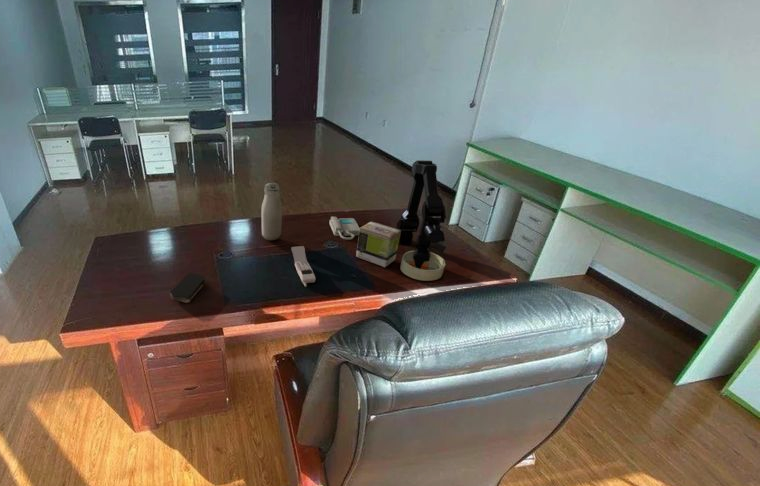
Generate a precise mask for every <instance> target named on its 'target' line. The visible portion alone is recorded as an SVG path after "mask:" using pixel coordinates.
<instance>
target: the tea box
mask: <svg viewBox="0 0 760 486" xmlns="http://www.w3.org/2000/svg"><path fill="white" fill-rule="evenodd" d="M359 228H360V231H359V235H358V239H357V246H356V252H355V253H356V255H355V257H356V258H359V259H361V260H364V261H367V262H369V263H372V264H375V265H376V266H380V267H382V268H386V267H388V266H389V265H390V264H392V263H393V262H394V261H395V260H396V258H397V253H398V249H399V239H400V234H401V230H399V229H397V228H395V227H391V226H388V225H385V224H382V223H378V222H375V221H369V222H368V223H366V224H364V225H362V226H361V227H359Z"/></svg>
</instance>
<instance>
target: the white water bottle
mask: <svg viewBox="0 0 760 486" xmlns="http://www.w3.org/2000/svg"><path fill="white" fill-rule="evenodd" d="M263 190H264V196H263V199H262V203H261V211H260V212H261V217H260V218H261V236H262V237H263V238H264V239H265V240H267V241H276V240H278V239H279V238H280V237H281V235H282V226H283V225H282V222H283V205H282V201H281V186H280V185H279V184H278V183H276V182H268V183H267V184H265V185H264V189H263Z"/></svg>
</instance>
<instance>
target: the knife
mask: <svg viewBox="0 0 760 486" xmlns="http://www.w3.org/2000/svg"><path fill="white" fill-rule="evenodd" d="M409 265H411V266H413V267H416V266H415V262H414V261H409ZM420 269H424V270H436V267H430V266H429V264H426V263H423V265H422V266H421V268H420Z"/></svg>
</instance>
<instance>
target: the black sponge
mask: <svg viewBox="0 0 760 486" xmlns="http://www.w3.org/2000/svg"><path fill="white" fill-rule="evenodd" d="M205 277H206V276H205V275H202V274H197V273H192V272H191V273H190V272H189V273H186V274H185V275H184V277H182V279H180V281H179V282H178V283H177V284H176V285H175V286H174V288H172V289H171V290H170V291H169V296H170V298H171V299H172V300H174V301H178V302H180V303H181V302H182V303H185V304H187V303H190V302H191V301H192V299H194V297H195V296H196V295H197V293H199V291H201V289H202V288H203V287H204V286H205V284H206V278H205Z"/></svg>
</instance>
